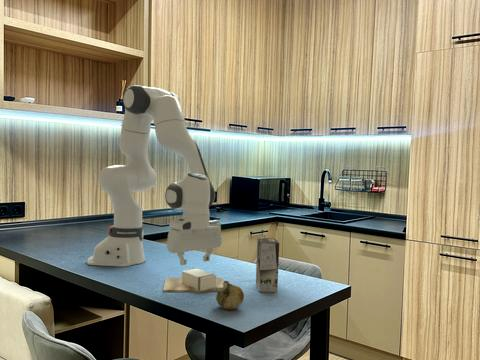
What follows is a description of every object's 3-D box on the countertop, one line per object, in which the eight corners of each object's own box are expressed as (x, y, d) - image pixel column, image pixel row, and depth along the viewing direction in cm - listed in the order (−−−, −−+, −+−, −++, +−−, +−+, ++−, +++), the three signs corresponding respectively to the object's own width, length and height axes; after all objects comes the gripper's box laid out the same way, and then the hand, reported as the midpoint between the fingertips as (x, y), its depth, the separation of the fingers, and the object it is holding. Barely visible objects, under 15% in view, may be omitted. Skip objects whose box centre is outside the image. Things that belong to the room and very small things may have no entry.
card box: (182, 270, 144) (201, 278, 136) (196, 268, 148) (216, 275, 140) (181, 282, 144) (201, 290, 136) (196, 279, 148) (216, 287, 140)
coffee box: (278, 292, 139) (279, 243, 139) (258, 292, 139) (260, 242, 138) (273, 283, 149) (275, 237, 148) (255, 283, 148) (256, 237, 147)
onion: (241, 313, 119) (241, 285, 118) (212, 311, 120) (213, 283, 120) (245, 304, 126) (246, 278, 126) (218, 302, 128) (219, 276, 127)
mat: (162, 291, 136) (162, 289, 136) (165, 279, 150) (165, 277, 150) (225, 291, 138) (225, 289, 138) (222, 279, 152) (222, 277, 152)
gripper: (214, 218, 152) (213, 257, 153) (165, 222, 139) (164, 265, 139) (226, 220, 147) (225, 260, 148) (175, 225, 134) (174, 269, 135)
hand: (195, 262), depth 144 cm, fingers open, 8 cm apart
